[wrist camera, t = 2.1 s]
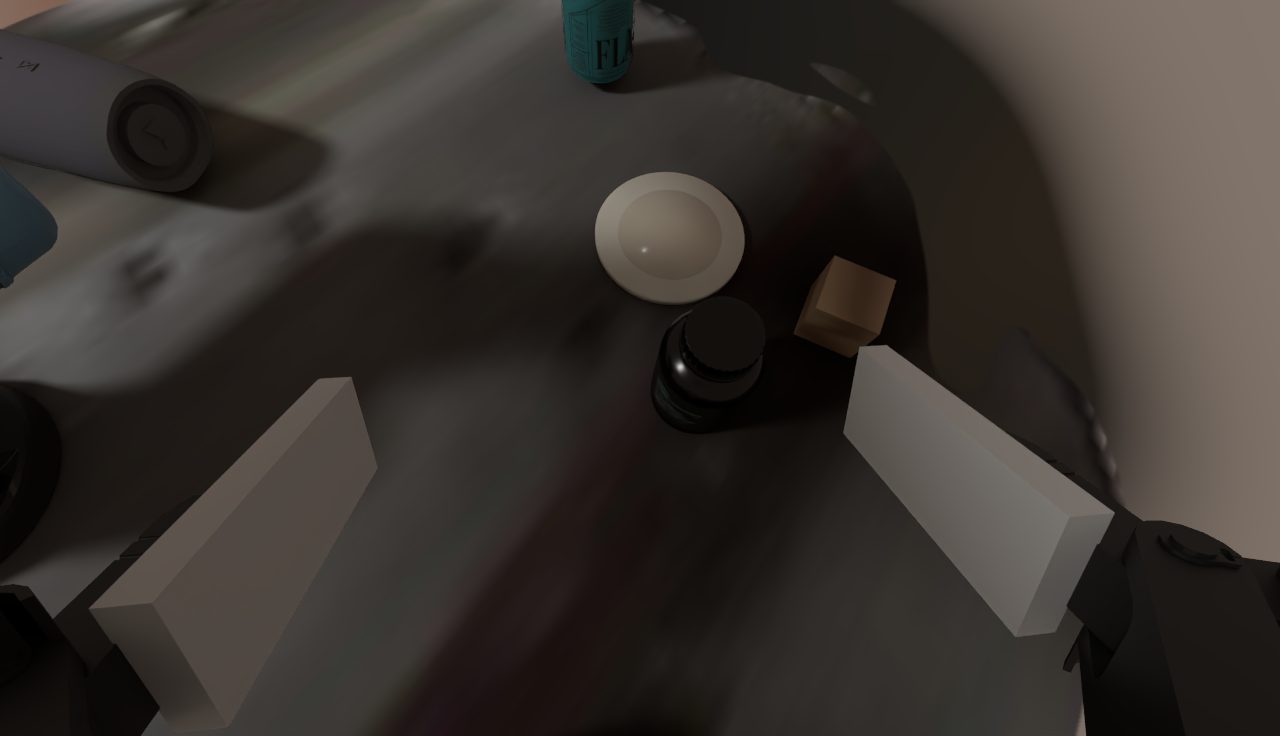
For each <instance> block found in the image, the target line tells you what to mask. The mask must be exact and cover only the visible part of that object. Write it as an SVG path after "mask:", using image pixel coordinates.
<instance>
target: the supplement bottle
mask: <svg viewBox="0 0 1280 736" xmlns="http://www.w3.org/2000/svg"><path fill="white" fill-rule="evenodd" d="M765 339H766V335H765V328H764V326H763V322H762V320H761V319H760V316H759V315H758V314H757V313H756V311H755V310H754V309H753V308H751V307H750V305H749V304H746V303H744V302H743V301H742V300H738V299H736V298H735V297H732V298H730V297H728V296H724V297H722V296H717V297H710V298H709V299H704V300H703V301H702V302H700V303H697V305H696V307H694V308H692V309H691V311H689V312H686V313H685V314H683V315H681V316H680V317H678V318H677V319H676V320H675V321H674V322H673V323H672V324H671V325H670V326H669V328H668V329H667V331H666V333H665V335H664V337H663V339H662V342H661V345H660V349H659V353H658V357H657V361H656V365H655V369H654V373H653V377H652V382H651V397H652V402H653V405H654V407H655V409H656V411H657V413H658V414H659V415H660V417H661V418H662V419H663V420H664V421H665V422H666V423H667V424H669V425H670V426H671V427H673V428H675V429H677V430H679V431H682V432H686V433H691V434H701V433H706V432H710V431H712V430H715V429H717V428H718V427H720V426H721V425H723V424H724V423H725V422H726V421H727V420H728V419H729V418H730V417H731V416H732V415H733V414H734V413H735V412H736V411H737V409H738V408H739V407H740V406H741V405H742V404H743V403H744V402H745V401H746V400H747V399H748V397H749V396H750V395H751V394H752V393H753V392H754V391H755V389H756V388H757V386H758V385H759V383H760V381H761V379H762V377H763V374H764V369H765V351H764V347H765Z"/></svg>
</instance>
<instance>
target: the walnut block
mask: <svg viewBox="0 0 1280 736" xmlns="http://www.w3.org/2000/svg"><path fill="white" fill-rule="evenodd" d="M895 283H896V280H894V279H891V278H889V277H887V276H884V275H882V274H879V273H877V272H874V271H872V270H869V269H867V268H864V267H862V266H860V265H857V264H855V263H852V262H850V261H847V260H845V259H842V258H840V257H837V256H834V257H833V259H832V260H831V261H830V262H829V264H828V265H827V266H826V268H825V269H824V270H823V272H822V273H821V274H820V275H819V277H818V278H817V279H816V281H815V282H814V283H813V285H812V286H811V288H810V291H809V294H808V296H807V299H806V302H805V304H804V307H803V310H802V312H801V315H800V318H799V320H798V323H797V326H796V328H795V331H794V335H797V336H799V337H802V338H804V339H806V340H809V341H811V342H813V343H816V344H818V345H820V346H823V347H825V348H827V349H830V350H832V351H835V352H837V353H839V354H842V355H844V356H846V357H849V358H851V357H852V356H853V355H855V354H856V353H857V352H858V351H859V347H865V346H866V345H867V344H868V343H870V342H871V341H872V340H873V339H875V338H876V337H877V336H879V335H880V332H881V329H882V325H883V322H884V319H885V316H886V312H887V309H888V306H889V303H890V299H891V296H892V293H893V290H894V286H895Z"/></svg>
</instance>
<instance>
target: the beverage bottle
mask: <svg viewBox="0 0 1280 736" xmlns="http://www.w3.org/2000/svg"><path fill="white" fill-rule="evenodd" d="M634 2H635V0H634ZM561 3H562V4H563V15H564V22H563V23H564V27H563V29H565V30H564V32H565V33H564V35H565V39H564V40H566V41H565V42H566V47H565V48H566V51H567V59H568V62H569V65H570V67H571V69H572V70H573V72H574V73H575V74H576V75H577V76H579V77H580V78H582V79H584V80H586V81H589V82H593V83H608V82H612V81H615V80H617V79H619V78H620V77H622V76H623V75H624V74H625V73H626V71H627V70H628V67H629V64H631V63H630V61H631V58H632V57H631V53H632V51H633V50H632V46H633V44H632V40H633V38H634V31H633V37H632V28H633V25H632V24H633V23H634V22H633V4H634V3H633V0H562V2H561ZM561 8H562V5H561ZM561 13H562V12H561ZM562 18H563V16H562ZM634 19H635V18H634ZM564 35H563V36H564ZM633 41H634V40H633ZM632 55H633V54H632ZM631 62H632V61H631Z"/></svg>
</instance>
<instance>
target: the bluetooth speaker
mask: <svg viewBox="0 0 1280 736" xmlns="http://www.w3.org/2000/svg"><path fill="white" fill-rule="evenodd" d="M212 153H213V136H212V131H211V127H210V124H209V122H208V119H207V117H206V115H205V113H204V111H203V110H202V108H201V106H200V105H199V104H198V103H197V102H196V100H194V99H193V98H192V97H191V96H190V95H189V94H188V93H186V92H185V91H183V90H182V89H181V88H179V87H177V86H176V85H174V84H172V83H170V82H168V81H165V80H163V79H160V78H158V77H156V76H154V75H151V74H148V73H146V72H143V71H140V70H138V69H135V68H132V67H128V66H125V65H122V64H119V63H116V62H113V61H110V60H107V59H103V58H100V57H97V56H94V55H90V54H87V53H84V52H80V51H77V50H74V49H71V48H67V47H64V46H61V45H57V44H53V43H50V42H46V41H42V40H39V39H35V38H31V37H28V36H24V35H21V34H17V33H13V32H9V31H5V30H1V29H0V156H1V157H5V158H8V159H11V160H15V161H18V162H22V163H25V164H29V165H34V166H38V167H42V168H47V169H52V170H59V171H63V172H67V173H71V174H75V175H79V176H83V177H88V178H92V179H96V180H102V181H106V182H111V183H115V184H120V185H124V186H128V187H134V188H140V189H146V190H153V191H162V192H176V191H181V190H185V189H187V188H189V187H191V186H192V185H193V184H194V183H195V182H196V181H197V180H198V179H199V178H200V176H201V175H202V174H203V172H204V171H205V169H206V167H207V166H208V164H209V162H210V160H211V157H212Z"/></svg>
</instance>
